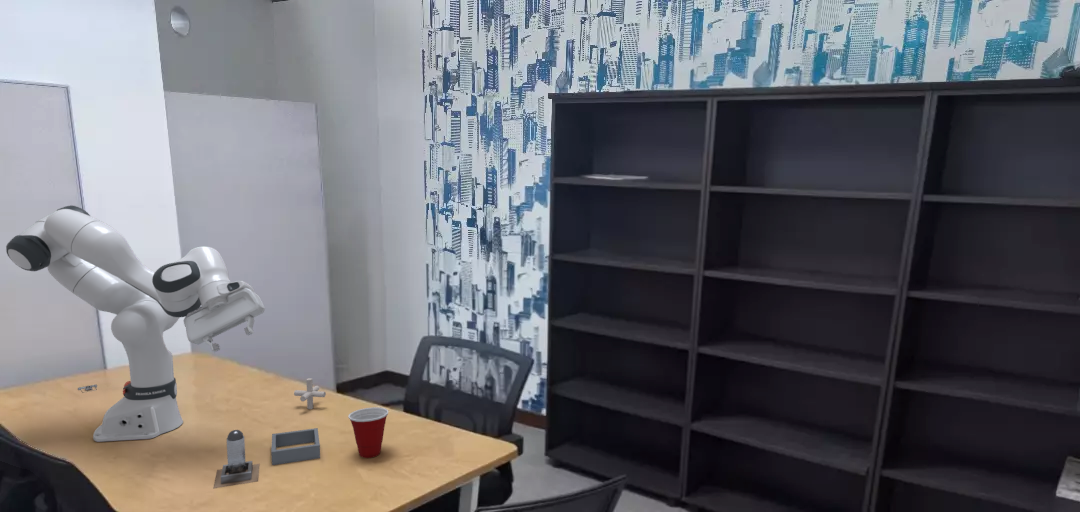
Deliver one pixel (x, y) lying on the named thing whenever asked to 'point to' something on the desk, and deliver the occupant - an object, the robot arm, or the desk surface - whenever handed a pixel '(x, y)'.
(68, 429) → the desk surface
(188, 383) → the desk surface
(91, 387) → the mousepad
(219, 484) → the socket plate
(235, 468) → the strut
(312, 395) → the pipe connector
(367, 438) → the plastic cup
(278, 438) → the bin
